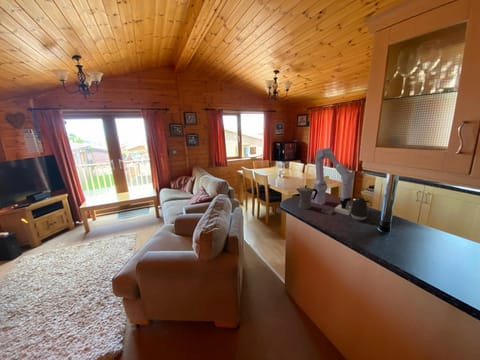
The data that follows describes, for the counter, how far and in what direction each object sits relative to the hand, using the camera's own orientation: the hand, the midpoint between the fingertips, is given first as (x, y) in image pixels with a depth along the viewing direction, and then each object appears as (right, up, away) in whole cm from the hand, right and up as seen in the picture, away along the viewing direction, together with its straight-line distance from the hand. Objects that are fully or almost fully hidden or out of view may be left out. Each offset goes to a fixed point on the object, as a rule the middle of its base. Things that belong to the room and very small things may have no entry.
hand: (344, 207), depth 145 cm
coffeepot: (-24, -2, +11) cm, 27 cm away
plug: (0, -2, 0) cm, 2 cm away
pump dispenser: (+4, -6, -10) cm, 13 cm away
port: (0, -3, +1) cm, 3 cm away
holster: (-12, -4, +1) cm, 13 cm away
